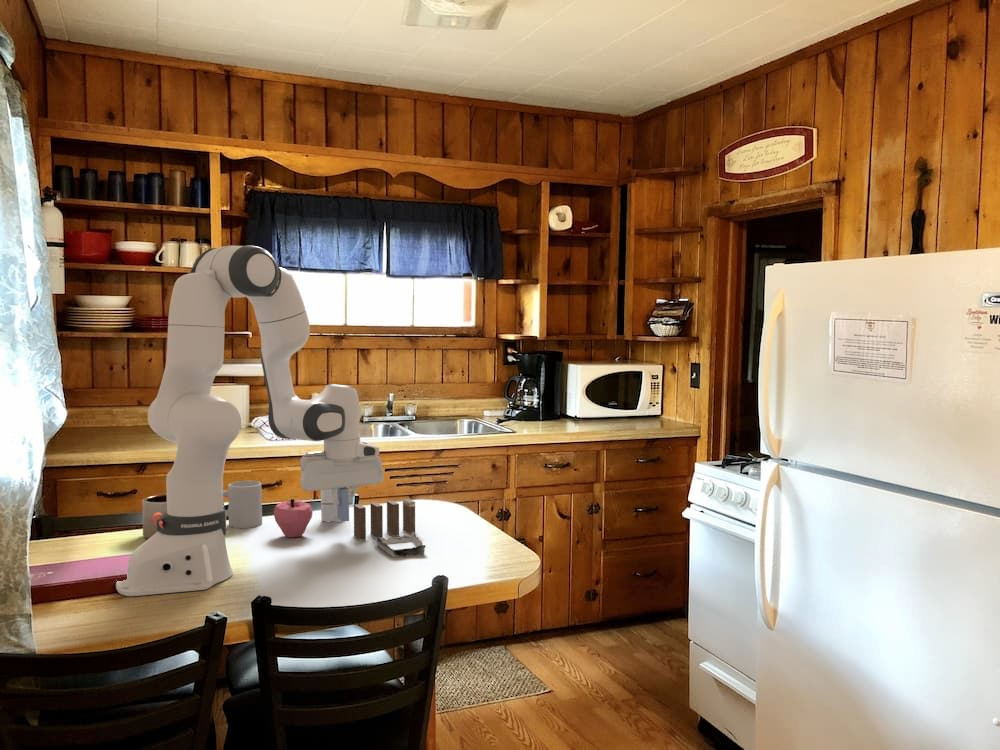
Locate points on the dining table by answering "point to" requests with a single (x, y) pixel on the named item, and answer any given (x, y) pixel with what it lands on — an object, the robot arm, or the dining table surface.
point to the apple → (293, 517)
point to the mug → (244, 504)
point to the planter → (152, 512)
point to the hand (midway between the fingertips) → (343, 505)
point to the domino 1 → (343, 504)
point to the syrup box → (328, 507)
